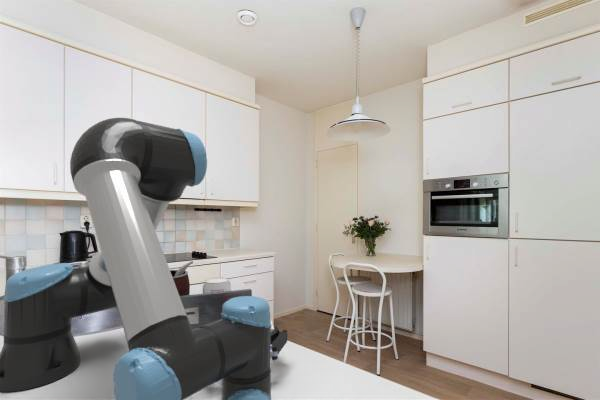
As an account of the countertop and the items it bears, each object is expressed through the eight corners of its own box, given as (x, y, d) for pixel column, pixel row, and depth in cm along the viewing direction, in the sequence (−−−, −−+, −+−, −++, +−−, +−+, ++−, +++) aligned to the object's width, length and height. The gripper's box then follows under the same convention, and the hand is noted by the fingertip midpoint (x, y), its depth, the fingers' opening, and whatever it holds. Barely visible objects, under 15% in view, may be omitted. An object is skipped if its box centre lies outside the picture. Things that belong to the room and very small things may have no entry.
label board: (164, 356, 77) (165, 299, 77) (164, 352, 79) (165, 297, 79) (252, 342, 85) (252, 290, 85) (250, 339, 87) (250, 288, 87)
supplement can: (221, 323, 99) (221, 276, 100) (235, 330, 93) (236, 280, 94) (197, 330, 93) (198, 280, 94) (211, 338, 88) (211, 284, 88)
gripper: (174, 397, 55) (191, 346, 76) (310, 382, 60) (291, 337, 81) (174, 355, 56) (191, 315, 77) (309, 343, 61) (291, 308, 81)
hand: (243, 326), depth 79 cm, fingers open, 13 cm apart
